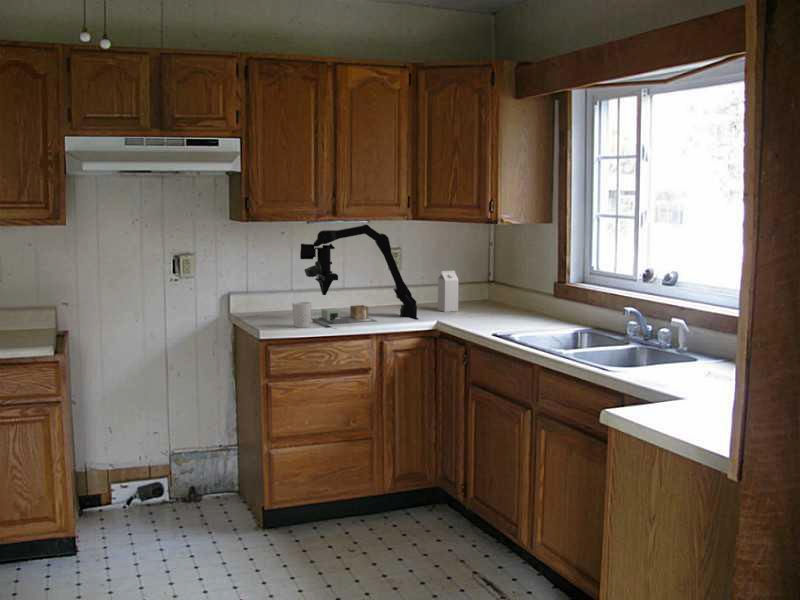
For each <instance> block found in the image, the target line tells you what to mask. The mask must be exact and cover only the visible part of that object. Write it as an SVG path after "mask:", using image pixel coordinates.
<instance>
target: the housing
mask: <svg viewBox="0 0 800 600" xmlns="http://www.w3.org/2000/svg"><path fill="white" fill-rule="evenodd" d="M341 313H342V312H341V310H340V309H337V308H322V309H321V318H324V319H326V320H329V321H330V318H334V319H335V318H339V319H341V318H342V317H341Z"/></svg>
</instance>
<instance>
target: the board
mask: <svg viewBox="0 0 800 600" xmlns="http://www.w3.org/2000/svg"><path fill="white" fill-rule="evenodd" d="M373 322H374V323H375V322H377V320H376V319H373V318H372V317H371V318H370V317H368V318H366V310H363V311H362V319H354V318H352V317H350V316H345V317H344V316H342V317H341V319H339V318H335V319H334V318H330V321H329V320H326V319H324V318H322V316H321V317H318V318H315V319H312V323H314V324H316V325H318V326H321V327H324V328H326V329H327V328H332V326H333V325H346V324H358V323H359V324H360V323H373ZM331 325H332V326H331Z"/></svg>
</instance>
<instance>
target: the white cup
mask: <svg viewBox="0 0 800 600" xmlns="http://www.w3.org/2000/svg"><path fill="white" fill-rule="evenodd" d="M291 306H292V307H291V308H292V321H293V327H294V328H296V329H297V328H299V329H302V328H303V329H305V328H310V327H311V318H312V317H311V316H312V315H311V314H312V302H310V301H294V302H292V305H291Z"/></svg>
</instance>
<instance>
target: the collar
mask: <svg viewBox="0 0 800 600" xmlns="http://www.w3.org/2000/svg"><path fill="white" fill-rule="evenodd" d="M349 308H350V313H349V314H350V316H349V317H352V318H354V319H362V311H363V310H366V318H369V306H367V305H364V304H359V305H350V306H349Z"/></svg>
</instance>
